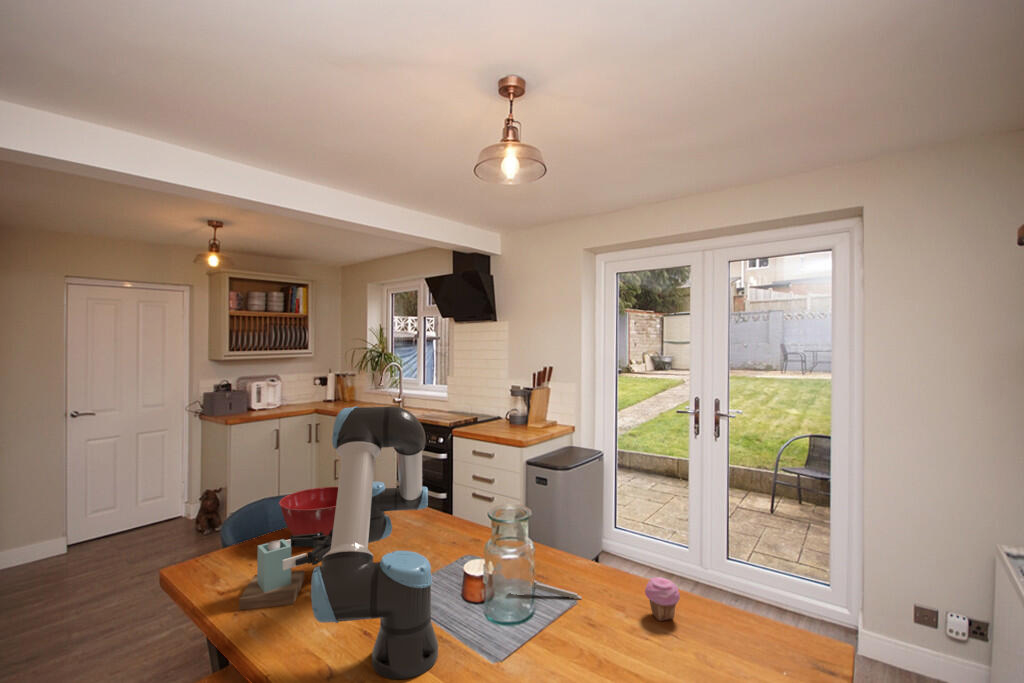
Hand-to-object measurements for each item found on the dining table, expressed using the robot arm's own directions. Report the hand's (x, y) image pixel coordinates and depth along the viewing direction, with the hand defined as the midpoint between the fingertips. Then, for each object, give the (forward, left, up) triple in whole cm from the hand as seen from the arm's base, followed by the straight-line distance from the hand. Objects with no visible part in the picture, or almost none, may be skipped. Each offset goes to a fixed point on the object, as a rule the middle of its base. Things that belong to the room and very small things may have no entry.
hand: (275, 557), depth 140 cm
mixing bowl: (+41, -6, -11) cm, 43 cm away
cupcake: (-34, -106, -11) cm, 112 cm away
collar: (0, 0, -8) cm, 8 cm away
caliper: (-17, -78, -11) cm, 81 cm away
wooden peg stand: (0, 0, -11) cm, 11 cm away
